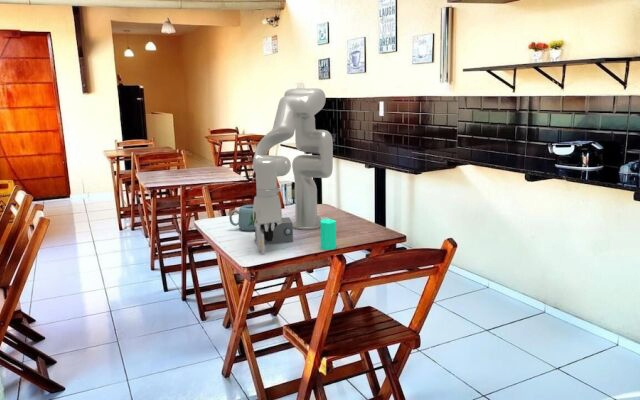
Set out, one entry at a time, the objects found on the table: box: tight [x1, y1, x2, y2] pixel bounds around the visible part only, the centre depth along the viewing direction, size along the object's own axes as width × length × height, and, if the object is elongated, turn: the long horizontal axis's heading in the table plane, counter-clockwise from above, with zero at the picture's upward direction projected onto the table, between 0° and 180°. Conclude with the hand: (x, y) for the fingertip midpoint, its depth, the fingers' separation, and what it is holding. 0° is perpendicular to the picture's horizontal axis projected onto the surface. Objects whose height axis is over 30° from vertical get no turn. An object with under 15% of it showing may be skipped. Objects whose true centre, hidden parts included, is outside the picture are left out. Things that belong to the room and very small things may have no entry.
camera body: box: [254, 217, 294, 245], centre depth 210 cm, size 14×9×9 cm, turn 103°
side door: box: [255, 227, 266, 255], centre depth 198 cm, size 14×2×7 cm, turn 16°
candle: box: [320, 217, 337, 251], centre depth 200 cm, size 6×6×12 cm
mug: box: [229, 204, 255, 232], centre depth 228 cm, size 15×11×10 cm
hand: (268, 240), depth 197 cm, fingers closed
